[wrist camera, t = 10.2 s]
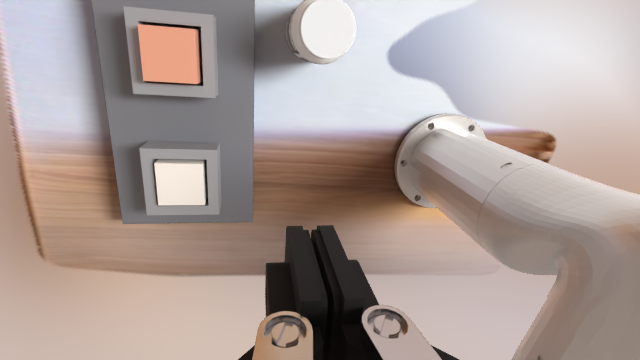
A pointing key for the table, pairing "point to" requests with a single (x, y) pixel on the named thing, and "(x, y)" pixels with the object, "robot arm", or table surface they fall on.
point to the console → (180, 107)
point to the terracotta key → (170, 54)
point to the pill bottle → (321, 30)
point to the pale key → (181, 181)
